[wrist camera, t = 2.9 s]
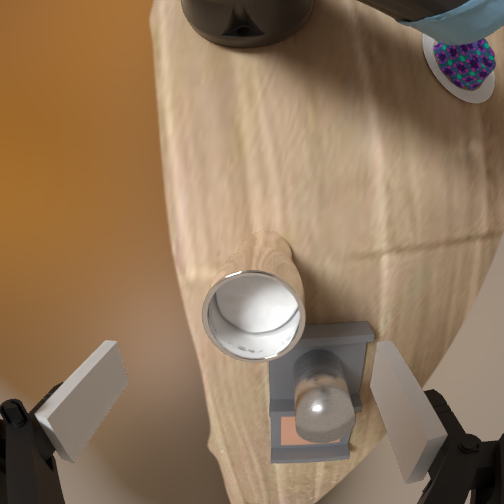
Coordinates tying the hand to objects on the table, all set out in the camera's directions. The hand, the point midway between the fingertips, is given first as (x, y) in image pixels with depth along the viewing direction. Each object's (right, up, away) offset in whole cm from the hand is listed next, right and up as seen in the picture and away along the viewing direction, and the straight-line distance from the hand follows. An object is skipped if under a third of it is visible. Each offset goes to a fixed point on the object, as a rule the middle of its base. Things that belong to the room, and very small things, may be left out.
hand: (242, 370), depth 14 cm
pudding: (+27, +30, +12) cm, 42 cm away
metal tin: (+9, -9, +21) cm, 25 cm away
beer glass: (+2, +5, +19) cm, 20 cm away
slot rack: (+9, -14, +23) cm, 29 cm away
